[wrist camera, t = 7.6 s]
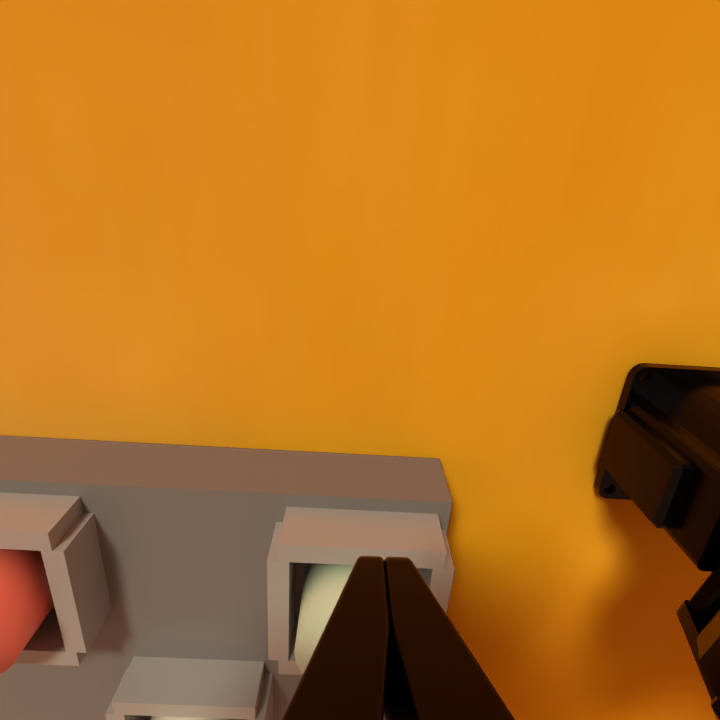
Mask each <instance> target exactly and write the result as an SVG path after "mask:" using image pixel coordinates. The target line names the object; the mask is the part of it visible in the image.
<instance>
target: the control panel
mask: <svg viewBox="0 0 720 720" xmlns="http://www.w3.org/2000/svg"><path fill="white" fill-rule="evenodd" d="M451 507H452V499H451V496H450V493H449V489H448V486H447V482H446V479H445V475H444V472H443V468H442V465H441V461H440V459H437V458H418V457H399V456H380V455H361V454H342V453H323V452H304V451H285V450H266V449H247V448H228V447H209V446H189V445H170V444H151V443H132V442H113V441H94V440H75V439H56V438H37V437H18V436H0V549H13V550H35V551H41V555H42V559H43V563H44V566H45V570H46V574H47V578H48V582H49V586H50V590H51V594H52V598H53V602H54V606H53V608H52V609H51V611H50V612H49V614H48V615H47V616H46V618H45V619H44V621H43V622H42V623H41V625H40V626H39V628H38V629H37V630H36V632H35V633H34V635H33V636H32V638H31V639H30V640H29V642H28V643H27V645H26V646H25V647H24V649H23V650H22V652H21V653H20V654H19V656H18V657H17V659H16V660H15V662H14V663H13V664H12V666H11V667H10V668H9V669H8V670H6V671H5V672H3V673H2V674H0V720H150V719H151V716H168V717H195V718H222V719H246V720H282V718H283V716H284V714H285V712H286V710H287V708H288V705H289V703H290V701H291V699H292V697H293V695H294V693H295V690H296V688H297V686H298V684H299V682H300V680H301V678H302V676H303V673H302V672H301V670H300V669H299V667H298V665H297V663H296V659H295V653H294V650H295V642H296V635H297V627H298V620H299V612H300V605H301V598H302V590H303V583H304V576H305V572H306V570H307V568H308V566H309V564H310V563H318V564H340V565H355V562H356V560H357V559H358V558H359V557H360V556H380V557H382V558H383V560H385V558H386V557H408V558H409V559H411V560H412V562H413V563H414V565H415V566H416V568H417V569H418V571H419V573H420V574H421V576H422V577H423V579H424V580H425V582H426V583H427V585H428V586H429V588H430V590H431V591H432V593H433V594H434V596H435V597H436V599H437V600H438V602H439V603H440V605H441V606H442V608H443V610H444V611H445V613H446V614H447V609H448V603H449V598H450V593H451V587H452V582H453V576H454V571H455V569H454V565H453V561H452V557H451V552H450V548H449V544H448V540H447V531H448V525H449V519H450V513H451ZM383 720H384V719H383Z"/></svg>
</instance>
